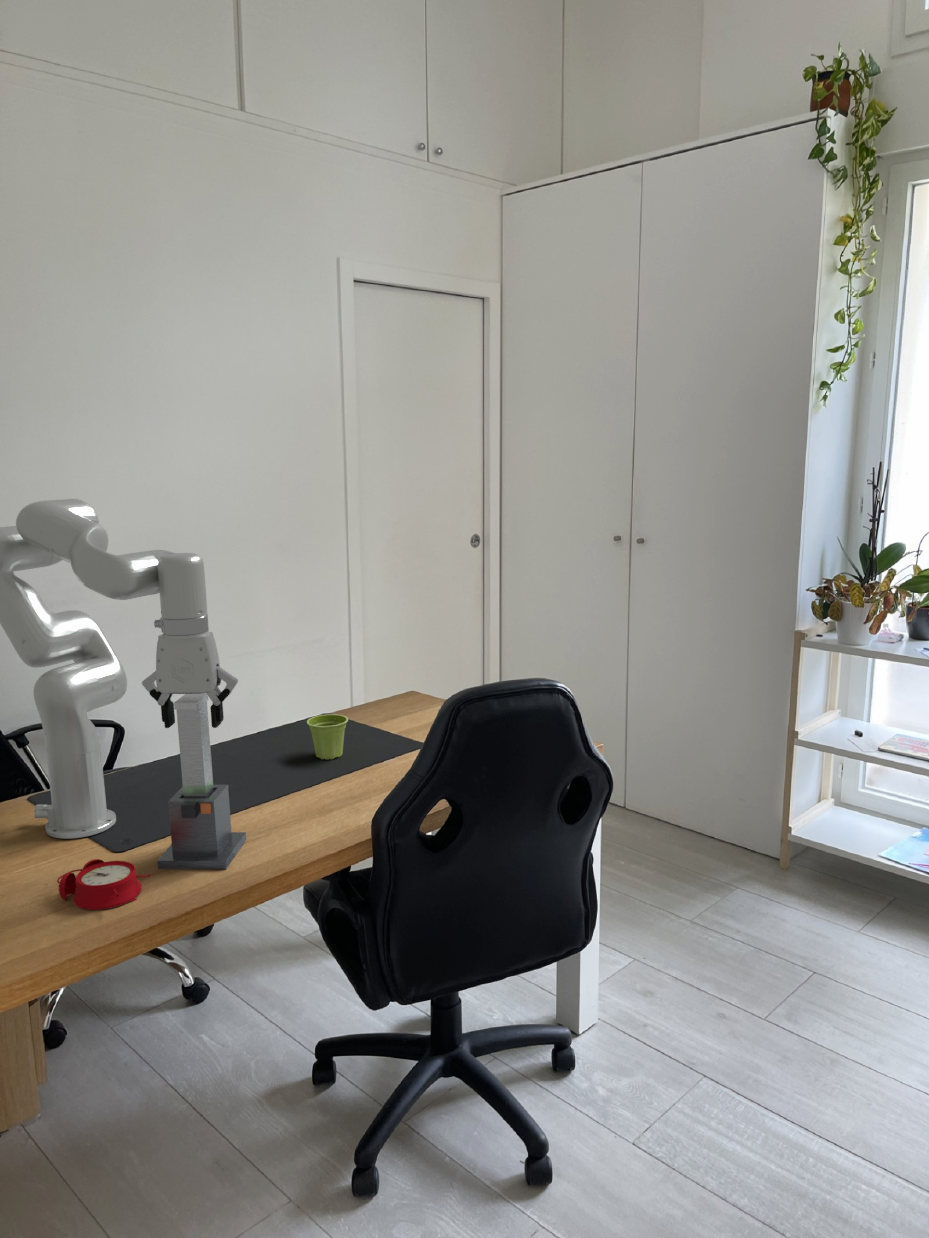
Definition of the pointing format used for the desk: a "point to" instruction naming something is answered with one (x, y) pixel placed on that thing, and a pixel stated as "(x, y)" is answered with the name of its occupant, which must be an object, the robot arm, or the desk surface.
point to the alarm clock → (101, 884)
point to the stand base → (201, 832)
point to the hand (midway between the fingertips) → (193, 725)
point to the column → (194, 745)
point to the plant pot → (328, 735)
